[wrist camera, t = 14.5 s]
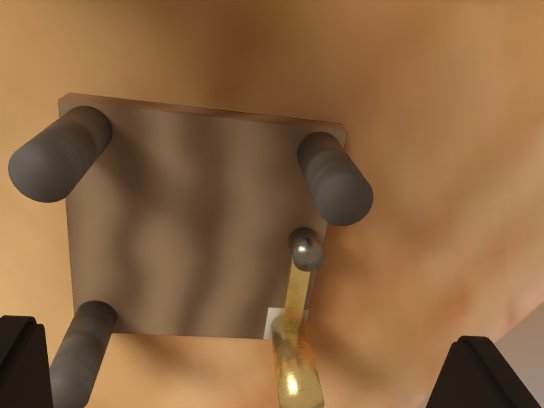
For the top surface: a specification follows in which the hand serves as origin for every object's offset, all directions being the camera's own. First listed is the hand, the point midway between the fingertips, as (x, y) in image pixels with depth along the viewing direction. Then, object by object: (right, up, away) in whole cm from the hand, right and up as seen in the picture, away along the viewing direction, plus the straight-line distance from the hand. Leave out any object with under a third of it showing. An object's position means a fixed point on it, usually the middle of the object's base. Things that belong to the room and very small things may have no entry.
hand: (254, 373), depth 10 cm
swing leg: (+3, -4, +31) cm, 31 cm away
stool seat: (-6, +2, +30) cm, 31 cm away
